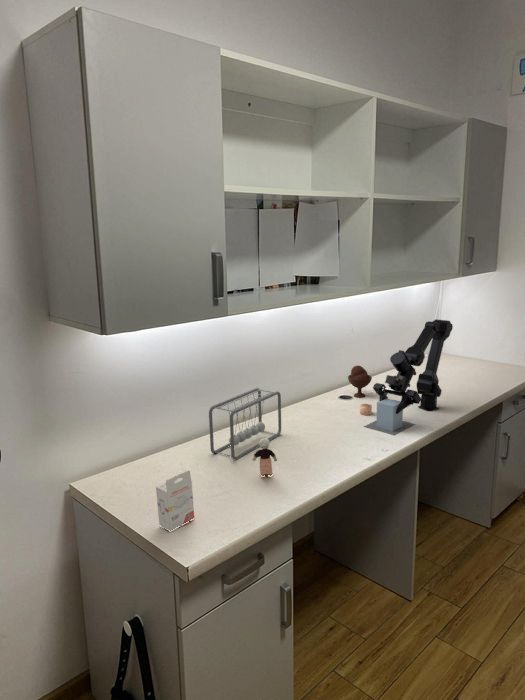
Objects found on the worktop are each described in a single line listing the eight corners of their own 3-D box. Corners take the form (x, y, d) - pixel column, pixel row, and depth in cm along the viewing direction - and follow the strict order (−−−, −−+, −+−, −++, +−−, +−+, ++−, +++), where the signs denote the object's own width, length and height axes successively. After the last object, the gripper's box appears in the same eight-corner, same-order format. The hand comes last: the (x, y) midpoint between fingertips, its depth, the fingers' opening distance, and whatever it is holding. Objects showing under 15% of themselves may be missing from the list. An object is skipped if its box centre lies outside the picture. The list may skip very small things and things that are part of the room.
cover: (386, 422, 211) (386, 398, 209) (402, 426, 206) (403, 402, 204) (376, 426, 206) (376, 402, 204) (392, 431, 201) (393, 406, 199)
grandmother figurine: (275, 471, 170) (275, 435, 167) (278, 477, 166) (277, 439, 163) (252, 474, 169) (251, 437, 166) (254, 479, 165) (252, 441, 162)
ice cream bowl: (371, 399, 241) (372, 368, 238) (347, 399, 243) (347, 367, 240) (371, 393, 251) (372, 362, 248) (348, 392, 253) (348, 362, 250)
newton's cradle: (260, 429, 208) (258, 386, 204) (282, 434, 202) (281, 390, 198) (210, 455, 185) (207, 407, 181) (233, 462, 178) (231, 412, 175)
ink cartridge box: (183, 514, 146) (179, 464, 142) (194, 520, 142) (191, 469, 139) (158, 527, 139) (154, 475, 136) (169, 533, 136) (166, 481, 133)
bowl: (366, 412, 225) (366, 403, 224) (373, 415, 221) (374, 406, 220) (357, 414, 223) (357, 405, 222) (364, 417, 218) (364, 408, 218)
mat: (385, 417, 218) (385, 416, 218) (415, 425, 208) (415, 424, 208) (363, 427, 207) (363, 426, 207) (394, 436, 197) (394, 435, 197)
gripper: (375, 363, 210) (359, 396, 205) (418, 370, 197) (402, 405, 192) (386, 378, 217) (370, 410, 212) (427, 386, 204) (412, 420, 199)
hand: (387, 411), depth 203 cm, fingers closed on cover, 7 cm apart
